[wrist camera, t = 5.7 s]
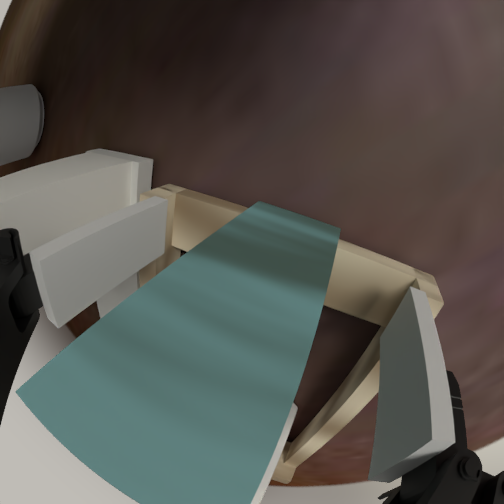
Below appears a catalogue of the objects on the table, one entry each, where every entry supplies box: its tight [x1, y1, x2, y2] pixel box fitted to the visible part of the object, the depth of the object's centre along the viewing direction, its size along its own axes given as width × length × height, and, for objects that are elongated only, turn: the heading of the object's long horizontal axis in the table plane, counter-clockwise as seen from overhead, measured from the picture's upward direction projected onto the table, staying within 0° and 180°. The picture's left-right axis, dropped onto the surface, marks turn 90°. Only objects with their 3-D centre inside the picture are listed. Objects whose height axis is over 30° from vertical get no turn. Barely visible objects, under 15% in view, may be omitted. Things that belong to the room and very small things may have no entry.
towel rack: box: [16, 184, 444, 504], centre depth 13 cm, size 22×14×12 cm
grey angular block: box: [0, 148, 153, 319], centre depth 16 cm, size 24×5×11 cm, turn 168°
